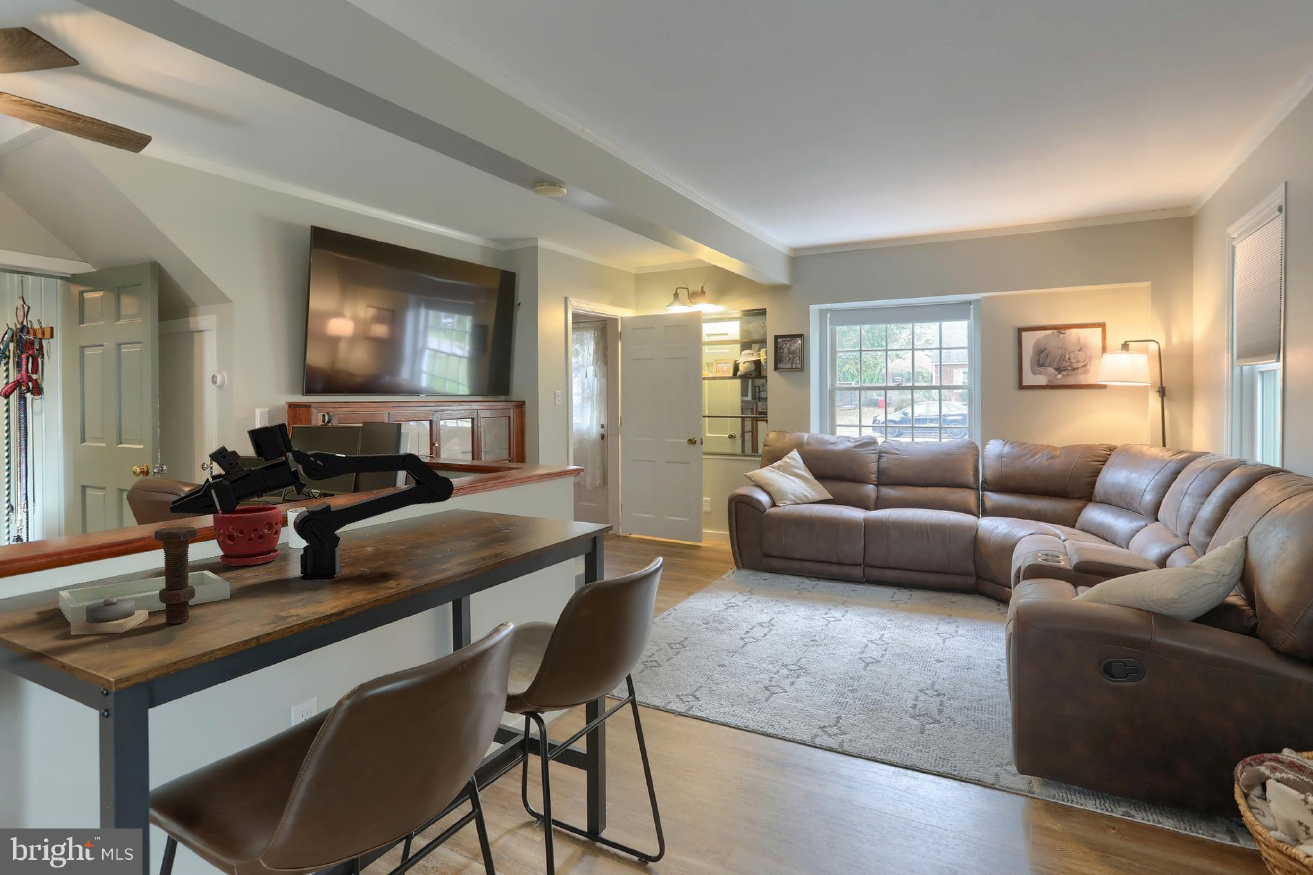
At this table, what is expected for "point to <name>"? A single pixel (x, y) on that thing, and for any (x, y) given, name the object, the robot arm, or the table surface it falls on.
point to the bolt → (176, 572)
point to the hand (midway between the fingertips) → (171, 507)
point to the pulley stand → (109, 617)
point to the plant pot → (248, 535)
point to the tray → (140, 594)
